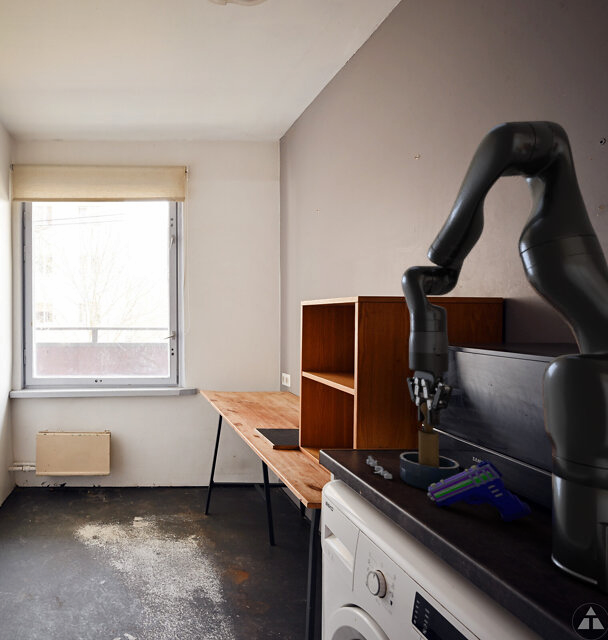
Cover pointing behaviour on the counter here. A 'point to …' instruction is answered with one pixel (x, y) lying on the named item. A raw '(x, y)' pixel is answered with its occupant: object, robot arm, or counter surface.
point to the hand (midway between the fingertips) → (428, 423)
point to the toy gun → (479, 491)
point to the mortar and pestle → (428, 442)
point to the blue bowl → (425, 470)
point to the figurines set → (378, 468)
